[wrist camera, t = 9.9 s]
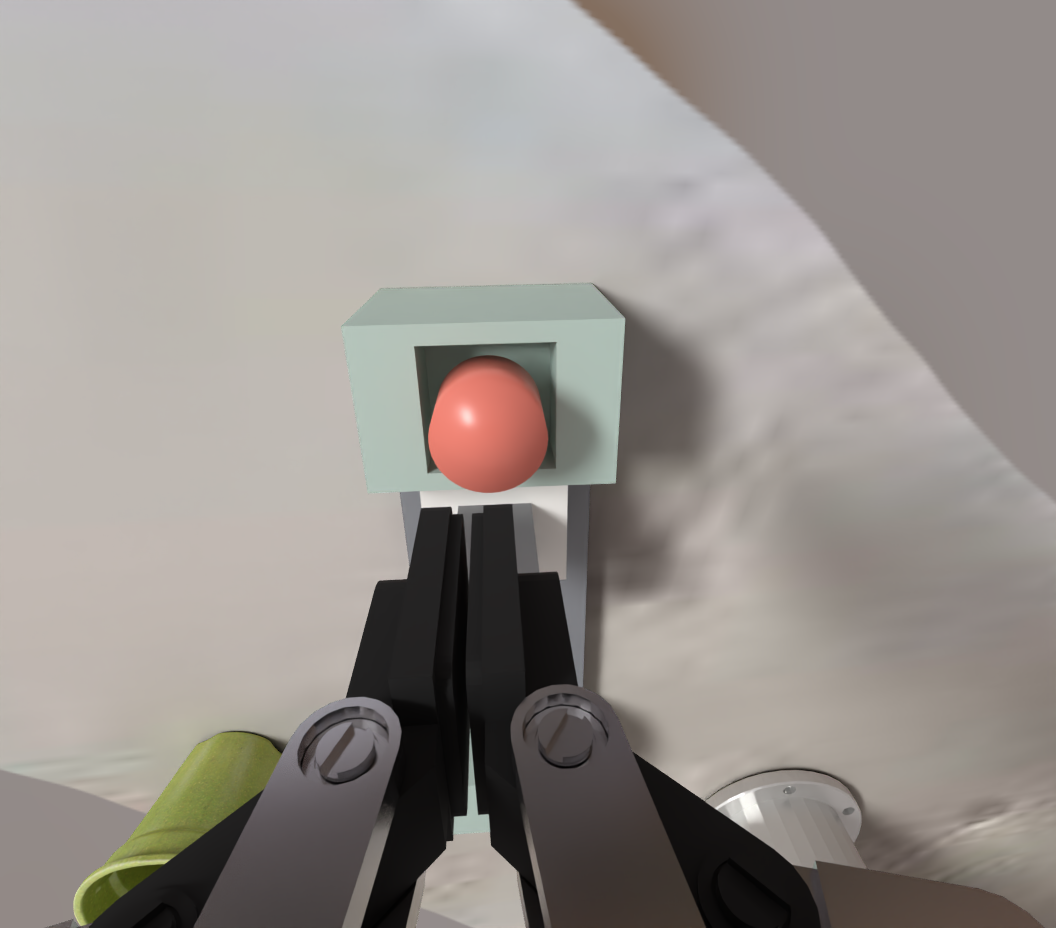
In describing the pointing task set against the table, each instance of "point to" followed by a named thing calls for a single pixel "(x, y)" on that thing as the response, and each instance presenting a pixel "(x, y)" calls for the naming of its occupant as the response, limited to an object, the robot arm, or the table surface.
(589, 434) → the rail track
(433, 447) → the button
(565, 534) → the carriage
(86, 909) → the plant pot
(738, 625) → the table surface
